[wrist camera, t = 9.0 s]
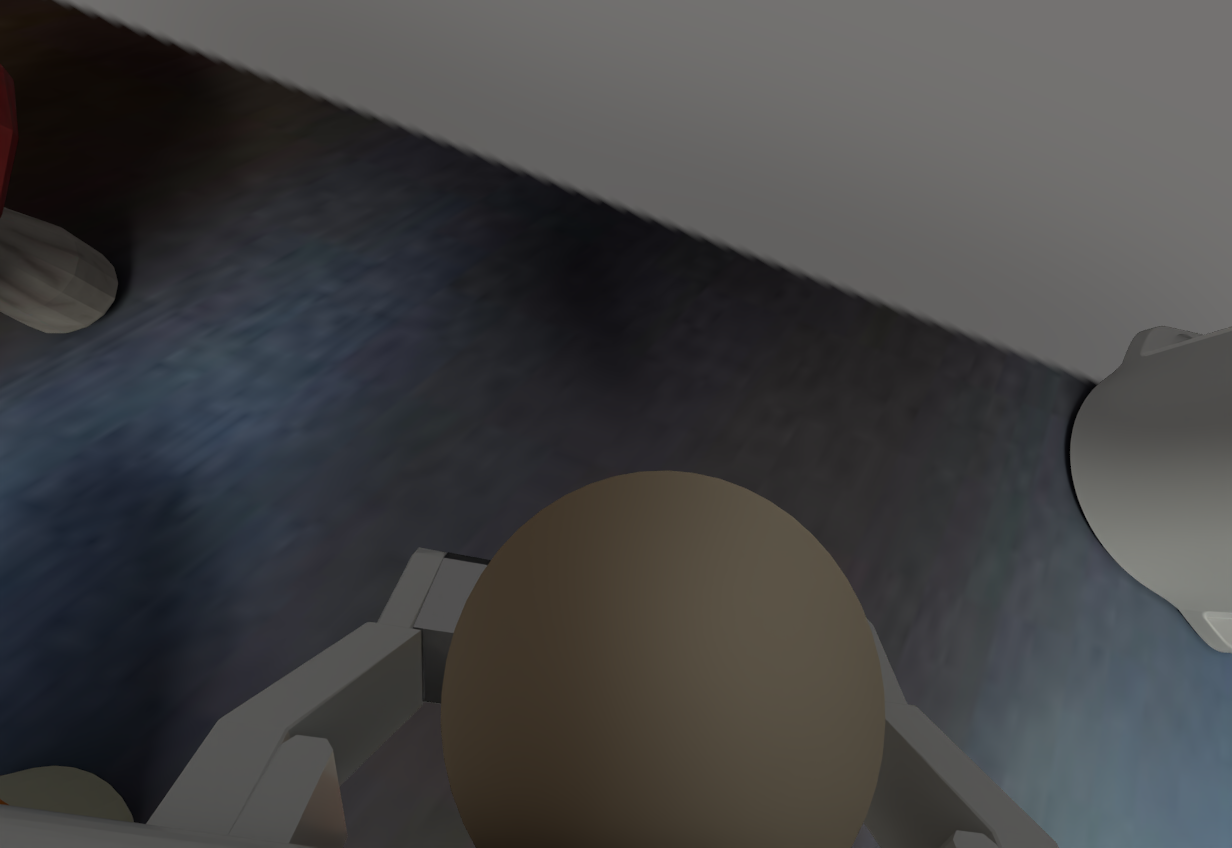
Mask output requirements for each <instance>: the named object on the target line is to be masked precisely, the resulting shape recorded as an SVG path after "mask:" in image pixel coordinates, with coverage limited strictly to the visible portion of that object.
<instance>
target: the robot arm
mask: <svg viewBox="0 0 1232 848" xmlns="http://www.w3.org/2000/svg"><path fill="white" fill-rule="evenodd" d="M1070 462H1071V472H1072V478H1073V482H1074V487H1075V490H1076V494H1077V497H1078V500H1079V503H1080V505H1081V508H1082V510H1083V512H1084V515H1085V517H1086V519H1087V521H1088V523H1089V525H1090V526H1091V528H1092V530H1093V532H1094V533H1095V535H1096V536H1097V538H1098V539H1099V541H1100V542H1101V544H1102V545H1103V546H1104V548H1105V549H1106V550H1107V551H1108V553H1109V554H1110V555H1111V556H1112V557H1113V558H1114V560H1115V561H1116V562H1117V563H1118V564H1119V565H1120V566H1121V567H1122V568H1123V569H1124V570H1126V571H1127V572H1128V573H1129V574H1130V575H1131V576H1132V577H1134V578H1135V579H1136V580H1137V581H1139V582H1140V583H1141V584H1143V585H1144V586H1146V587H1147V588H1149V589H1150V590H1152V591H1154V592H1155V593H1157V594H1158V595H1160V596H1161V597H1163V598H1164V599H1166V600H1167V601H1169V602H1170V603H1171V604H1173V605H1174V606H1175V607H1176V608H1177V609H1178V610H1179V611H1180V612H1181V613H1182V615H1183V616H1184V617H1185V619H1186V620H1187V621H1188V622H1189V624H1190V625H1191V626H1192V627H1193V629H1194V630H1195V631H1196V632H1197V633H1198V635H1199V636H1200V637H1201V638H1202V639H1203V640H1204V641H1205V642H1206V643H1207V644H1208V645H1209V646H1211V647H1212V648H1213V649H1215V650H1217V651H1219V652H1224V653H1232V327H1229V328H1226V329H1222V330H1219V331H1216V332H1212V333H1209V334H1206V335H1202V334H1198V333H1193V332H1189V331H1184V330H1179V329H1176V328H1171V327H1165V326H1159V327H1155V328H1151V329H1148V330H1144V331H1141V332H1139V333H1138V334H1137V335H1136V336H1135V337H1134V338H1133V340H1132V342H1131V344H1130V346H1129V348H1128V350H1127V353H1126V355H1125V358H1124V360H1123V363H1122V364H1121V366H1120V367H1119V368H1118V369H1117V370H1115V371H1114V372H1113V373H1112V374H1111V375H1109V376H1108V377H1107V378H1105V379H1104V380H1103V381H1101V382H1100V383H1099V384H1098V385H1097V386H1096V387H1095V388H1094V389H1093V390H1092V391H1091V392H1090V394H1089V395H1088V396H1087V398H1086V399H1085V401H1084V402H1083V404H1082V406H1081V408H1080V410H1079V412H1078V414H1077V417H1076V419H1075V423H1074V426H1073V431H1072V436H1071V444H1070ZM490 561H491V560H487V559H481V558H476V557H471V556H465V555H460V554H454V553H449V552H448V553H446V552H441V551H436V550H430V549H425V548H418V549H417V550H416V551H415V552H414V553H413V555H412V556H411V558H410V560H409V562H408V564H407V566H406V568H405V570H404V572H403V574H402V576H401V578H400V580H399V581H398V583H397V585H396V587H395V589H394V591H393V593H392V595H391V597H390V599H389V601H388V603H387V605H386V607H385V608H384V610H383V612H382V614H381V616H380V618H379V620H378V622H377V623H374V622H367V623H365V624H364V625H362V626H361V627H359V628H358V629H356V630H355V631H353V632H352V633H350V634H349V635H347V636H345V637H344V638H342V639H341V640H339V641H338V642H336V643H335V644H333V645H332V646H330V647H329V648H327V649H326V650H324V651H323V652H321V653H320V654H318V655H317V656H315V657H313V658H312V659H310V660H309V661H307V662H306V663H304V664H303V665H301V666H300V667H298V668H297V669H295V670H294V671H292V672H291V673H289V674H288V675H286V676H284V677H283V678H281V679H280V680H278V681H277V682H275V683H274V684H272V685H271V686H269V687H268V688H266V689H265V690H263V691H262V692H260V693H259V694H257V695H256V696H254V697H252V698H251V699H249V700H248V701H246V702H245V703H243V704H242V705H240V706H239V707H237V708H236V709H234V710H233V711H231V712H230V713H228V714H227V715H225V716H223V717H222V718H220V719H219V720H218V721H217V723H216V724H215V725H214V727H213V728H212V730H211V731H210V733H209V734H208V736H207V737H206V738H205V740H204V741H203V743H202V744H201V746H200V747H199V748H198V750H197V751H196V753H195V754H194V756H193V757H192V758H191V760H190V761H189V763H188V764H187V766H186V767H185V769H184V770H183V771H182V773H181V774H180V776H179V777H178V779H177V780H176V781H175V783H174V784H173V786H172V787H171V789H170V790H169V792H168V793H167V794H166V796H165V797H164V799H163V800H162V802H161V803H160V804H159V806H158V807H157V809H156V810H155V812H154V813H153V814H152V816H151V817H150V819H149V820H148V822H147V823H146V824H142V823H135V822H128V821H120V820H113V819H106V818H98V817H91V816H84V815H76V814H69V813H62V812H54V811H47V810H40V809H32V808H25V807H18V806H10V805H3V804H0V848H343V846H344V844H345V841H346V839H347V836H348V835H347V829H346V824H345V818H344V812H343V806H342V800H341V794H340V788H339V786H340V785H341V784H342V783H343V782H344V781H345V780H346V779H347V778H349V777H350V776H351V775H352V774H353V773H354V772H355V771H356V770H357V769H358V768H359V767H360V766H361V765H362V764H363V763H364V762H365V761H366V760H367V759H368V758H369V757H370V756H371V755H372V754H373V753H374V752H375V751H376V750H377V749H378V748H379V747H380V746H381V745H382V744H383V743H384V742H385V741H386V740H387V739H388V738H389V737H390V736H391V735H392V734H393V733H394V732H395V731H397V730H398V729H399V728H400V727H401V726H402V725H403V724H404V723H405V722H406V721H407V720H408V719H409V718H410V717H411V716H412V715H413V714H414V713H415V712H416V711H417V710H418V709H419V708H420V707H421V706H422V702H431V703H439V704H441V693H442V686H443V679H444V672H445V665H446V659H447V656H448V652H449V648H450V645H451V641H452V637H453V634H454V630H455V627H456V625H457V622H458V620H459V617H460V615H461V613H462V610H463V608H464V605H465V603H466V600H467V599H468V597H469V595H470V593H471V591H472V590H473V588H474V586H475V584H476V582H477V581H478V579H479V577H480V575H481V574H482V572H483V571H484V569H485V568H486V567H487V565H488V564H489V563H490ZM867 621H868V624H869V626H870V629H871V631H872V634H873V638H874V642H875V646H876V649H877V653H878V657H879V660H880V666H881V673H882V680H883V686H884V697H885V734H884V746H883V756H882V761H881V766H880V771H879V776H878V781H877V786H876V789H875V792H874V795H873V798H872V801H871V804H870V807H869V810H868V813H867V816H866V818H865V820H864V824H865V825H866V827H867V828H868V830H869V831H870V832H871V834H872V835H873V837H874V838H875V840H876V841H877V843H878V844H879V846H880V847H881V848H1059V847H1058V845H1057V843H1056V842H1055V841H1054V840H1053V839H1052V838H1051V837H1050V836H1049V835H1048V834H1047V833H1046V832H1045V831H1044V830H1043V829H1042V828H1041V827H1040V826H1039V825H1038V824H1037V823H1036V822H1035V821H1033V820H1032V819H1031V818H1030V817H1029V816H1028V815H1027V814H1026V813H1025V812H1024V811H1023V810H1022V809H1021V808H1020V807H1019V806H1018V805H1017V804H1016V803H1015V802H1014V801H1013V800H1012V799H1011V798H1010V797H1009V796H1008V795H1007V794H1006V793H1005V792H1004V791H1003V790H1002V789H1001V788H1000V787H999V786H998V785H997V784H996V783H994V782H993V781H992V780H991V779H990V778H989V777H988V776H987V775H986V774H985V773H984V772H983V771H982V770H981V769H980V768H979V767H978V766H977V765H976V764H975V763H974V762H973V761H972V760H971V759H970V758H969V757H968V756H967V755H966V754H965V753H964V752H963V751H962V750H961V749H960V748H959V747H958V746H957V745H955V744H954V743H953V742H952V741H951V740H950V739H949V738H948V737H947V736H946V735H945V734H944V733H943V732H942V731H941V730H940V729H939V728H938V727H937V726H936V725H935V724H934V723H933V722H932V721H931V720H930V719H929V718H928V717H927V716H926V715H925V714H924V713H923V712H922V711H921V710H920V709H919V708H917V707H916V706H913V705H908V704H907V702H906V700H905V698H904V695H903V693H902V691H901V688H900V686H899V684H898V682H897V679H896V677H895V675H894V672H893V670H892V668H891V665H890V663H889V661H888V658H887V656H886V654H885V652H884V649H883V647H882V645H881V642H880V640H879V638H878V635H877V633H876V631H875V628H874V626H873V624H872V623H871V622H870V621H869V620H868V619H867Z"/></svg>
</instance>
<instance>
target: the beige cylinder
mask: <svg viewBox="0 0 1232 848" xmlns="http://www.w3.org/2000/svg"><path fill="white" fill-rule="evenodd" d="M441 733H442V743H443V753H444V761H445V765H446V769H447V774H448V778H449V782H450V787H451V791H452V794H453V797H454V800H455V802H456V805H457V808H458V810H459V813H460V816H461V818H462V821H463V824H464V826H465V828H466V830H467V831H468V833H469V835H470V837H471V839H472V841H473V843H474V845H475V847H476V848H851V847H852V845H853V843H854V841H855V839H856V837H857V835H858V833H859V830H860V828H861V826H862V824H863V822H864V820H865V818H866V816H867V813H868V810H869V807H870V804H871V801H872V798H873V795H874V792H875V789H876V786H877V781H878V776H879V771H880V766H881V761H882V756H883V746H884V734H885V697H884V686H883V680H882V673H881V666H880V660H879V657H878V653H877V649H876V646H875V642H874V638H873V634H872V631H871V629H870V626H869V624H868V621H867V619H866V616H865V614H864V611H863V608H862V606H861V604H860V602H859V600H858V598H857V596H856V594H855V593H854V591H853V589H852V587H851V585H850V583H849V581H848V579H847V578H846V576H845V575H844V574H843V572H842V571H841V569H840V568H839V566H838V565H837V564H836V562H835V561H834V559H833V558H832V556H831V555H830V554H829V553H828V552H827V551H826V549H825V548H824V547H823V546H822V545H821V544H820V543H819V541H818V540H817V539H816V538H815V537H814V536H813V535H812V534H811V533H810V532H809V531H808V530H807V529H806V528H804V527H803V526H802V525H801V524H800V523H799V522H798V521H797V520H795V519H794V518H793V517H792V516H791V515H789V514H788V513H786V512H785V511H783V510H782V509H781V508H779V507H778V506H776V505H775V504H773V503H772V502H770V501H769V500H767V499H765V498H763V497H761V496H759V495H757V494H755V493H754V492H752V491H750V490H748V489H746V488H743V487H741V486H738V485H735V484H732V483H730V482H727V481H724V480H722V479H718V478H714V477H709V476H705V475H700V474H696V473H688V472H677V471H645V472H637V473H631V474H625V475H619V476H614V477H611V478H608V479H604V480H601V481H598V482H595V483H591V484H589V485H587V486H584V487H582V488H580V489H578V490H576V491H573V492H571V493H569V494H567V495H565V496H563V497H562V498H560V499H558V500H557V501H555V502H554V503H552V504H550V505H549V506H547V507H546V508H544V509H542V510H541V511H540V512H538V513H537V514H536V515H535V516H534V517H532V518H531V519H530V520H529V521H527V522H526V523H525V524H524V525H523V526H521V527H520V528H519V529H518V530H517V531H516V532H515V533H514V534H513V535H512V536H511V537H510V539H509V540H508V541H507V542H506V543H505V544H504V545H503V546H502V547H501V548H500V549H499V550H498V552H497V553H496V554H495V556H494V557H493V559H492V560H491V561H490V563H489V564H488V565H487V567H486V568H485V569H484V571H483V572H482V574H481V575H480V577H479V579H478V581H477V582H476V584H475V586H474V588H473V590H472V591H471V593H470V595H469V597H468V599H467V600H466V603H465V605H464V608H463V610H462V613H461V615H460V617H459V620H458V622H457V625H456V627H455V630H454V634H453V637H452V641H451V645H450V648H449V652H448V656H447V659H446V665H445V672H444V679H443V686H442V693H441Z"/></svg>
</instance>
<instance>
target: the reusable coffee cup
mask: <svg viewBox="0 0 1232 848" xmlns="http://www.w3.org/2000/svg"><path fill="white" fill-rule="evenodd" d="M0 804H3V805H10V806H18V807H25V808H32V809H40V810H47V811H54V812H62V813H69V814H76V815H84V816H91V817H98V818H106V819H113V820H120V821H128V822H134V820H133V817H132V814H131V812H130V810H129V809H128V807H127V805H126V804H125V802H124V800H123V798H122V797H121V796H120V795H119V794H118V793H117V792H116V791H115V789H114V788H113V787H112V786H111V785H110V784H109V783H107V782H106V781H104V780H102V779H101V778H99V777H98V776H96V775H94V774H93V773H90V772H87V771H84V770H81V769H78V768H75V767H65V766H46V767H36V768H31V769H27V770H23V771H19V772H15V773H11V774H7V775H3V776H0Z"/></svg>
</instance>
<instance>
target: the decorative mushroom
mask: <svg viewBox="0 0 1232 848" xmlns="http://www.w3.org/2000/svg"><path fill="white" fill-rule="evenodd" d="M18 139H19V137H18V125H17V113H16V101H15V89H14V80H13V79H12V78H11V76H10V75H9V74H8V72H7V71H6V70H5V69H4V67H3V66H2V65H1V64H0V312H2V313H4V314H6V315H8V316H10V317H12V318H14V319H16V320H18V321H20V322H22V323H24V324H26V325H28V326H30V327H32V328H35V329H38V330H40V331H43V332H46V333H69V332H72V331H75V330H78V329H81V328H85V327H88V326H90V325H91V324H92V323H94V322H95V321H96V320H98V319H99V318H101V317H102V316H103V315H105V313H106V312H107V310H108V309H109V308H110V306H111V305H112V303H113V302H114V300H115V296H116V292H117V287H118V280H117V276H116V273H115V269H114V266H113V265H112V264H111V263H110V262H109V261H108V260H107V259H106V258H105V257H104V256H103V255H102V254H101V253H99V252H98V251H96V250H95V249H93V248H92V247H90V246H89V245H87V244H86V243H84V242H83V241H81V240H80V239H78V238H77V237H75V236H74V235H72V234H71V233H69V232H68V231H66V230H65V229H63V228H61V227H59V226H56V225H53V224H50V223H48V222H45V221H42V220H39V219H36V218H33V217H30V216H27V215H25V214H22V213H19V212H16V211H13V210H10V209H7V208H4V204H5V200H6V195H7V190H8V186H9V181H10V176H11V172H12V167H13V162H14V158H15V153H16V148H17V144H18Z"/></svg>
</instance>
